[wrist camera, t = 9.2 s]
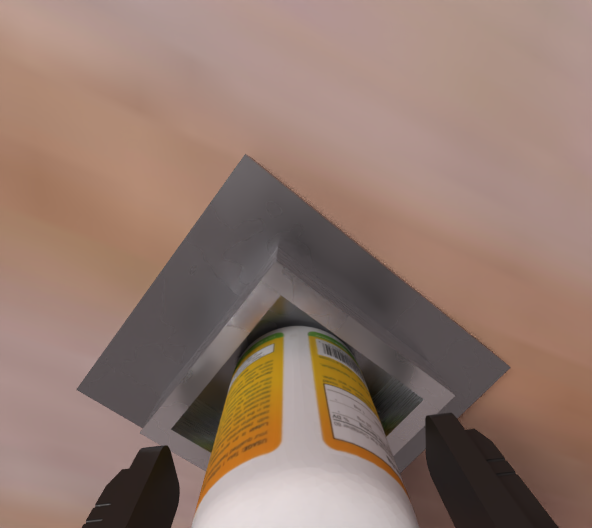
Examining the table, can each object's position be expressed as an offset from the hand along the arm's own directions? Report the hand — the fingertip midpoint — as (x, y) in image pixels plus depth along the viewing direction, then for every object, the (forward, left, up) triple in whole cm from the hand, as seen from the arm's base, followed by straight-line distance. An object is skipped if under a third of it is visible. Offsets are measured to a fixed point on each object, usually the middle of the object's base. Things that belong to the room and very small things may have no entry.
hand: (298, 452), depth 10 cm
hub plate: (0, 0, -5) cm, 5 cm away
